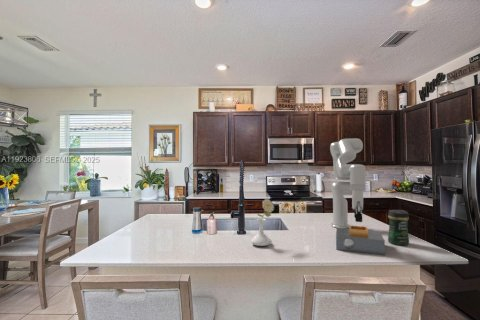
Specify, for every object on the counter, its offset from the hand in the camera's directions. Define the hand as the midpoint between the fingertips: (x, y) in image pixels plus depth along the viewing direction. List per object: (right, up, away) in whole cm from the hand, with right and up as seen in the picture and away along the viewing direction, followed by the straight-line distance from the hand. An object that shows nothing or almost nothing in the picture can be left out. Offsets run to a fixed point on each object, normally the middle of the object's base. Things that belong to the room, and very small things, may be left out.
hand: (358, 219), depth 136 cm
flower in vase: (-51, -15, +5) cm, 53 cm away
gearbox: (0, -14, 0) cm, 14 cm away
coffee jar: (+25, -15, +5) cm, 29 cm away
